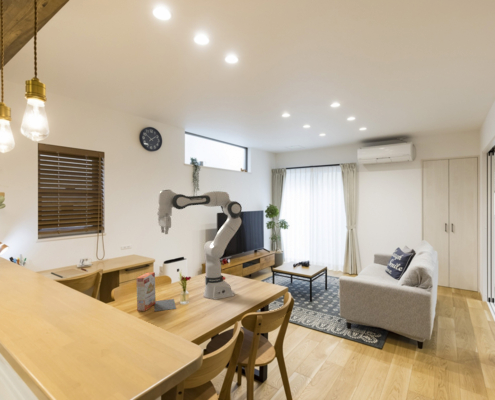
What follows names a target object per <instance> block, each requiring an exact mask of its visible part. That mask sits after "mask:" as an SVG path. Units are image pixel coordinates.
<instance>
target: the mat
mask: <svg viewBox="0 0 495 400" xmlns="http://www.w3.org/2000/svg"><path fill="white" fill-rule="evenodd" d="M153 306H154V312H160V311H162V312H163V311H169V310H170V311H171V310H176V309H177V307H176V302H175V299H174V298H171V299H163V300H156V303H155V304H154V305H153Z"/></svg>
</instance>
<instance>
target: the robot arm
mask: <svg viewBox="0 0 495 400" xmlns="http://www.w3.org/2000/svg"><path fill="white" fill-rule="evenodd" d="M200 205H201V206H205V207H210V208H211V207H220V208H221V210H222V213H223V214H225V216H227V218H226V221H225V222H224V223H223V224H222V226H221V227H220V228H219V230H217V232H216V235H215V237H214V239H213V240H208V241H206V242H205V243H204V245H203V253H204V261H205V276H204V277H205V278H204V285H205V288H204V292H203V297H204V298H206V299H213V300H220V299H226V298H230V297H234V296H235V295H236V294H235V291H233V290H232V287H231V284H230V283H228V282H227V281H225V280H226V276H224V275H222V263H221V259H220V258H222V257H223V255H224V254H225V250H226V249H227V246H228V244H229V243H230V241H231V240H232V238H233V237H234V236H235V234H236V233H237V231H238V230H239V228H241V227H240V226H241V225H242V219H241V214H242V210H243V209H242V205H241V203H240V202H238V201H236V200H235V201H233V200H231V199H230V195H229V193H228V192H226V191H221V190H219V191H217V190H216V191H215V190H214V191H208V192H204V193H203V194H201V195H190V196H189V195H185V194H182V193H177V192H174V191H172V189H165V190H164V189H163V190H161V191H160V192H159V193H158V208H157V209H158V211H157V216H158V217H157V220H158V226H159V227H160V229H161V230H160V231H161V233H162V234H164V235H169V230H170V228H171V227H172V216H173V214H172V213H173V211H172V210H173V208H174V209H177V210H183V209H185V208H187V207H189V206H190V207H191V206H200Z"/></svg>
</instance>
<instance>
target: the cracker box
mask: <svg viewBox="0 0 495 400" xmlns="http://www.w3.org/2000/svg"><path fill="white" fill-rule="evenodd" d="M135 279H136V280H135V281H136V307H137V308H136V310H137V311H138V312H146V311H147V310H148V309H150V308H151V307H152V306H154V304H155V303H156V301H157V299H156V272H154V271H151V272H146V273H144V274H141V275H139V276H137V277H136V278H135Z"/></svg>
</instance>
